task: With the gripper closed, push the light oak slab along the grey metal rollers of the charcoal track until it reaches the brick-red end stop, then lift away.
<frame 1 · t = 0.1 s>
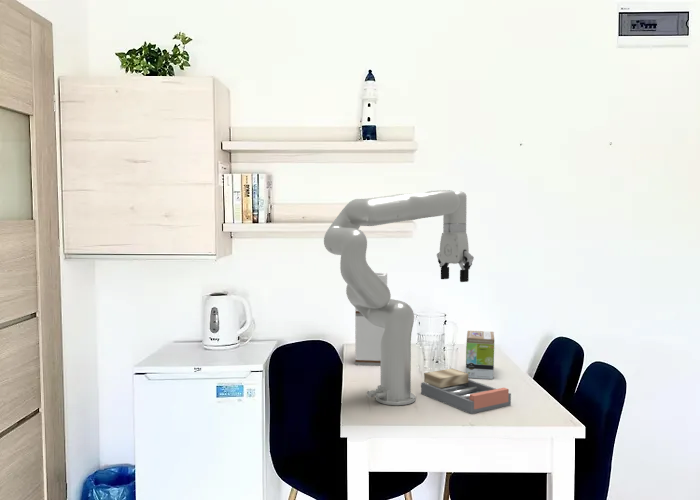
hand: (454, 280, 207), 37 cm above the table, tool pointing down, fingers open, 9 cm apart
rollers: (462, 391, 198), point 2 cm above the table
end stop: (489, 398, 188), point 3 cm above the table
roller track: (464, 399, 197), on the table
oak slab: (446, 377, 204), point 5 cm above the table, slide at 0.0 cm
tall white box: (371, 362, 246), on the table
tea box: (479, 374, 228), on the table
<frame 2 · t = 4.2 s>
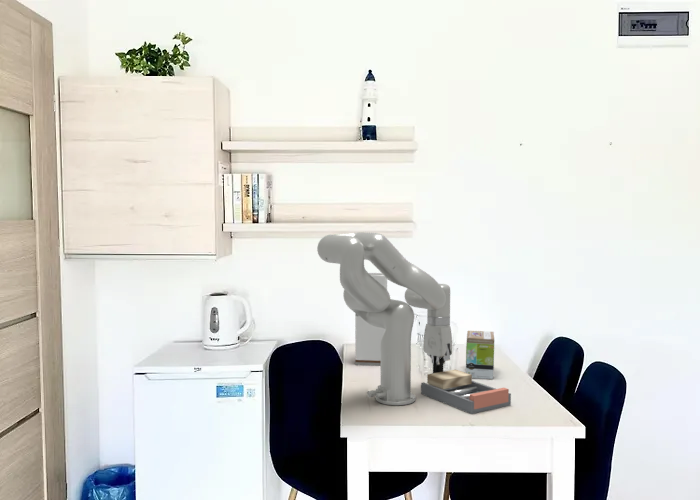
hand: (438, 375, 208), 5 cm above the table, tool pointing down, fingers closed
oak slab: (449, 379, 203), point 5 cm above the table, slide at 1.7 cm, touching gripper
everything else where it was.
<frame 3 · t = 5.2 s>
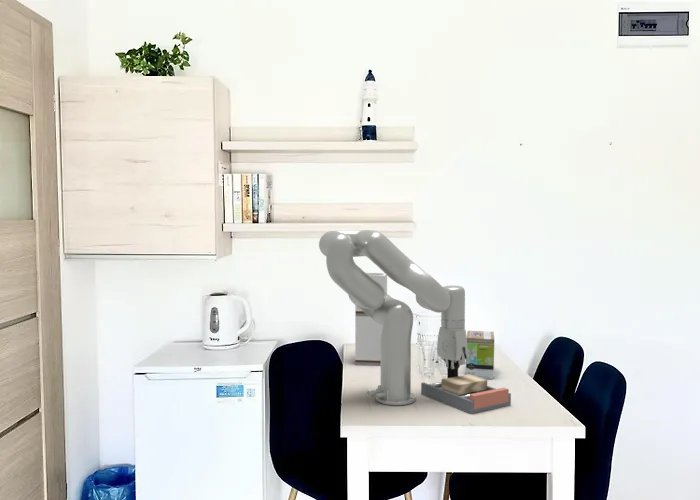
hand: (452, 379, 202), 5 cm above the table, tool pointing down, fingers closed
oak slab: (464, 384, 197), point 5 cm above the table, slide at 8.8 cm
everything else where it was.
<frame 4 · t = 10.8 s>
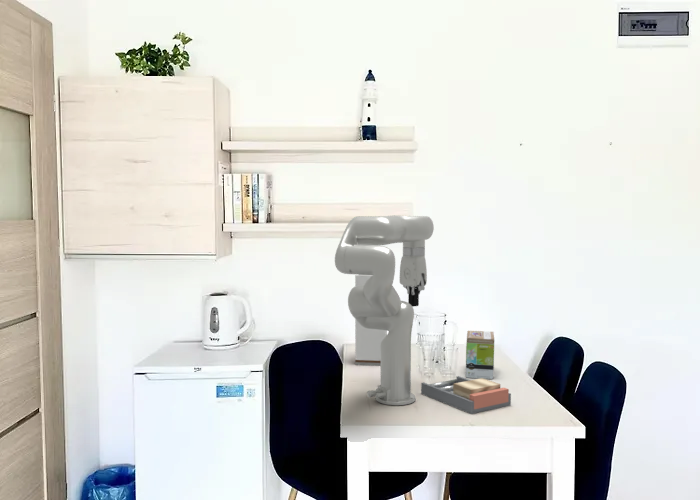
hand: (413, 305, 214), 27 cm above the table, tool pointing down, fingers closed
oak slab: (476, 388, 192), point 5 cm above the table, slide at 14.5 cm
everything else where it was.
at the end: oak slab slide at 14.5 cm; tea box moved 0.3 cm from its start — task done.
